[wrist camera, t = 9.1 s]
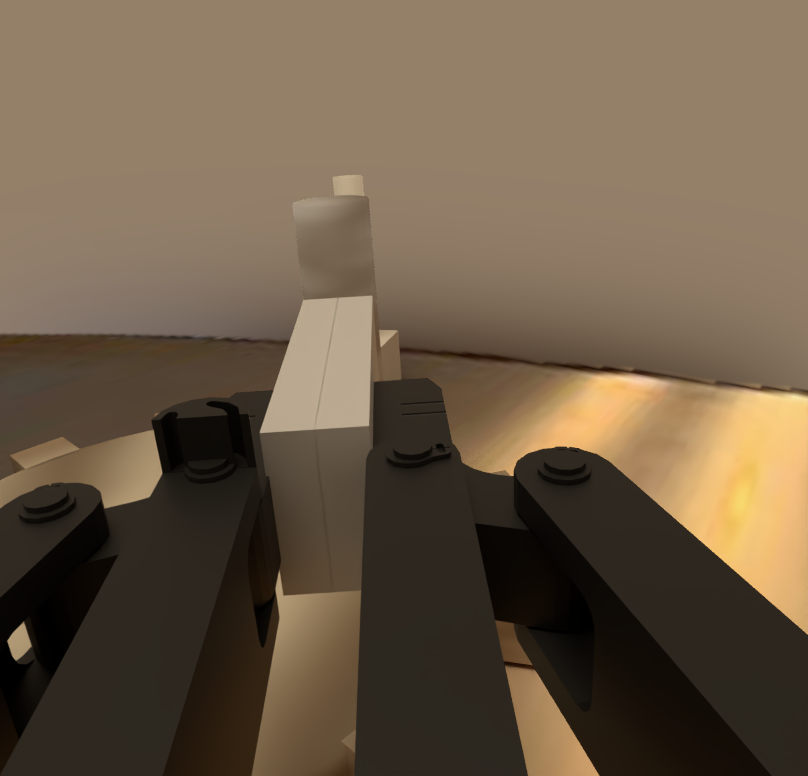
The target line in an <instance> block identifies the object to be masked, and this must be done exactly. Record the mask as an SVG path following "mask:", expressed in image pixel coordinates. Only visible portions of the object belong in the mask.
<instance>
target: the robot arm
mask: <svg viewBox="0 0 808 776" xmlns="http://www.w3.org/2000/svg"><path fill="white" fill-rule="evenodd" d="M151 421H152V425H153V430H154V435H155V440H156V445H157V449H158V454H159V459H160V464H161V469H162V475H161V477H160V479H159V481H158V483H157V484H156V486H155V488H154V490H153V492H152V494H151V496H150V497H148V498H145V499H141V500H138V501H134V502H130V503H126V504H121V505H117V506H113V507H109V508H104V504H103V500H102V496H101V492H100V491H99V490H98V489H96V488H95V487H94V486H93V485H88V484H83V483H63V482H59V483H52V484H51V485H50V486H49V484H47V485H43V486H40V487H37V488H35V489H34V490H33V491H30V492H28V493H25V494H22V495H20V496H19V497H17V498H15V499H14V500H12V501H10V502H9V503H7V504H5V505H4V506H3V507H1V508H0V776H252V771H253V765H254V759H255V754H256V748H257V742H258V737H259V731H260V726H261V720H262V714H263V709H264V703H265V697H266V692H267V686H268V681H269V675H270V669H271V664H272V658H273V652H274V647H275V641H276V635H277V630H278V624H279V619H280V617H279V609H278V602H277V595H276V584H277V579H278V574H279V569H280V576H281V583H282V590H283V596H286V595H301V594H316V593H331V592H346V591H361V606H360V632H359V659H358V686H357V713H356V739H355V766H354V776H528V774H527V769H526V764H525V759H524V755H523V750H522V745H521V741H520V736H519V731H518V726H517V722H516V717H515V712H514V707H513V703H512V698H511V693H510V688H509V684H508V679H507V674H506V669H505V665H504V660H503V655H502V650H501V646H500V641H499V636H498V632H497V627H496V622H495V620H496V621H502V622H508V623H514V630H515V634H516V637H517V640H518V642H519V644H520V645H521V647H522V649H523V650H524V652H525V654H526V655H527V657H528V659H529V660H530V662H531V663H532V665H533V667H534V668H535V670H536V672H537V673H538V675H539V677H540V678H541V680H542V682H543V683H544V685H545V687H546V688H547V690H548V691H549V693H550V695H551V696H552V698H553V700H554V701H555V703H556V705H557V706H558V708H559V710H560V711H561V713H562V715H563V716H564V718H565V719H566V721H567V723H568V724H569V726H570V728H571V729H572V731H573V733H574V734H575V736H576V738H577V739H578V741H579V743H580V744H581V746H582V747H583V749H584V751H585V752H586V754H587V756H588V757H589V759H590V761H591V762H592V764H593V766H594V767H595V769H596V771H597V772H598V774H599V775H600V776H808V635H807V634H806V633H805V632H804V631H803V630H802V629H800V628H799V627H798V626H797V625H796V624H795V623H794V622H792V621H791V620H790V619H789V618H788V617H787V616H785V615H784V614H783V613H782V612H781V611H780V610H779V609H777V608H776V607H775V606H774V605H773V604H772V603H771V602H769V601H768V600H767V599H766V598H765V597H764V596H763V595H761V594H760V593H759V592H758V591H757V590H756V589H755V588H753V587H752V586H751V585H750V584H749V583H748V582H747V581H745V580H744V579H743V578H742V577H741V576H740V575H739V574H737V573H736V572H735V571H734V570H733V569H732V568H731V567H729V566H728V565H727V564H726V563H725V562H724V561H723V560H721V559H720V558H719V557H718V556H717V555H716V554H715V553H713V552H712V551H711V550H710V549H709V548H708V547H707V546H705V545H704V544H703V543H702V542H701V541H700V540H699V539H697V538H696V537H695V536H694V535H693V534H692V533H691V532H689V531H688V530H687V529H686V528H685V527H684V526H683V525H681V524H680V523H679V522H678V521H677V520H676V519H674V518H673V517H672V516H671V515H670V514H669V513H668V512H666V511H665V510H664V509H663V508H662V507H661V506H660V505H658V504H657V503H656V502H655V501H654V500H653V499H652V498H650V497H649V496H648V495H647V494H646V493H645V492H644V491H642V490H641V489H640V488H639V487H638V486H637V485H636V484H634V483H633V482H632V481H631V480H630V479H629V478H628V477H626V476H625V475H624V474H623V473H622V472H621V471H620V470H618V469H617V468H616V467H615V466H614V465H613V464H612V463H610V462H609V461H607V460H606V459H604V458H602V457H601V456H599V455H597V454H594V453H591V452H588V451H584V450H581V449H579V448H574V447H569V448H567V447H555V448H549V449H541V450H538V451H535V452H531V453H528V454H526V455H525V456H524V457H522V458H521V459H519V460H518V461H517V463H516V466H515V468H514V476H506V475H497V474H492V473H486V472H482V471H479V470H476V469H473V468H471V467H469V466H467V465H465V464H463V463H462V461H461V456H460V453H459V451H458V449H457V448H456V446H455V445H454V444H452V440H451V435H450V430H449V425H448V420H447V415H446V410H445V405H444V400H443V395H442V390H441V388H440V387H439V386H437V385H436V384H435V383H433V382H432V381H431V380H429V379H428V378H422V379H407V380H391V381H379V375H378V362H377V349H376V336H375V323H374V310H373V297H372V296H358V297H342V298H327V299H311V300H304V301H303V304H302V307H301V310H300V313H299V316H298V319H297V322H296V325H295V328H294V331H293V334H292V337H291V340H290V343H289V346H288V349H287V352H286V355H285V358H284V361H283V364H282V367H281V370H280V373H279V376H278V379H277V382H276V385H275V388H274V390H270V391H255V392H240V393H235V394H234V395H232V396H231V397H230V398H204V399H196V400H190V401H187V402H184V403H180V404H177V405H174V406H172V407H170V408H168V409H165V410H163V411H161V412H160V413H159V414H158V415H156V416H155V417H154V418H153V419H152V420H151ZM23 622H24V624H25V627H26V631H27V634H28V637H29V640H30V643H31V647H30V648H29V650H28V651H27V652H26V653H25V654H24V655H23V656H22V657H20V658H19V659H18V660H15V659H14V658H13V656H12V653H11V650H10V647H9V644H8V639H9V638H10V636H11V635H12V633H13V632H14V631H15V630H16V629H17V628H18V627H19V626H20V625H21V624H22V623H23Z"/></svg>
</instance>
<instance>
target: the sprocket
mask: <svg viewBox="0 0 808 776" xmlns="http://www.w3.org/2000/svg"><path fill="white" fill-rule="evenodd" d="M292 205H293V214H294V222H295V231H296V239H297V246H298V256H299V264H300V273H301V281H302V288H303V298H304V300H311V299H327V298H342V297H358V296H372V297H373V310H374V323H375V336H376V349H377V362H378V375H379V381H383V371H382V359H381V346H380V334H379V322H378V310H377V298H376V285H375V272H374V260H373V249H372V237H371V224H370V211H369V199H368V197H366V196H359V195H337V196H325V197H316V198H310V199H304V200H300V201H297V202H294V203H293V204H292ZM158 414H159V413H157V414H155V416H156V415H158ZM10 459H11V462H12V465H13V469H14V472H15V474H13V475H11V476H8V477H6V478H4V479H2V480H0V508H1V507H3V506H4V505H5V504H7V503H9V502H10V501H12V500H14V499H15V498H17V497H19V496H20V495H22V494H25V493H28V492H30V491H33V490H34V489H35V488H37V487H40V486H43V485H47V484H49V486H50V485H51V484H52V483H59V482H63V483H83V484H88V485H93V486H94V487H95V488H96V489H98V490H99V491H100V492H101V496H102V500H103V504H104V508H109V507H113V506H117V505H121V504H126V503H130V502H134V501H138V500H141V499H145V498H148V497H150V496H151V494H152V492H153V490H154V488H155V486H156V484H157V483H158V481H159V479H160V477H161V475H162V469H161V464H160V459H159V454H158V449H157V445H156V440H155V435H154V430H152V431H147V432H142V433H138V434H134V435H129V436H125V437H121V438H117V439H113V440H110V441H106V442H103V443H99V444H95V445H92V446H88V447H85V448H82V449H79V448H77V447H76V446H74V445H73V444H72V443H70V442H69V441H67V440H66V439H65V438H63V437H61V438H58V439H55V440H52V441H49V442H47V443H44V444H41V445H38V446H35V447H32V448H29V449H26V450H24V451H21V452H18V453H15V454H12V455H10ZM492 474H497V475H506V476H510V475H509V474H508V473H507V472H506V470H505V471H499V472H494V473H492ZM276 595H277V602H278V609H279V617H280V619H279V624H278V630H277V635H276V641H275V647H274V652H273V658H272V664H271V669H270V675H269V681H268V686H267V692H266V697H265V703H264V709H263V714H262V720H261V726H260V731H259V737H258V742H257V748H256V754H255V759H254V765H253V771H252V776H354V766H355V739H356V713H357V686H358V659H359V632H360V606H361V591H346V592H331V593H316V594H301V595H286V596H283V590H282V583H281V576H280V569H279V574H278V579H277V584H276ZM495 622H496V627H497V632H498V636H499V641H500V646H501V650H502V655H503V660H504V661H507V662H514V663H521V664H528V665H532V663H531V662H530V660H529V659H528V657H527V655H526V654H525V652H524V650H523V649H522V647H521V645H520V644H519V642H518V640H517V637H516V634H515V630H514V623H508V622H502V621H496V620H495ZM8 644H9V647H10V650H11V653H12V656H13V658H14V659H15V660H18V659H19V658H20V657H22V656H23V655H24V654H25V653H26V652H27V651H28V650H29V648H30V647H31V643H30V640H29V637H28V634H27V631H26V627H25V624H24V622H23V623H22V624H21V625H20V626H19V627H18V628H17V629H16V630H15V631H14V632H13V633H12V635H11V636H10V638H9V639H8Z"/></svg>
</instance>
